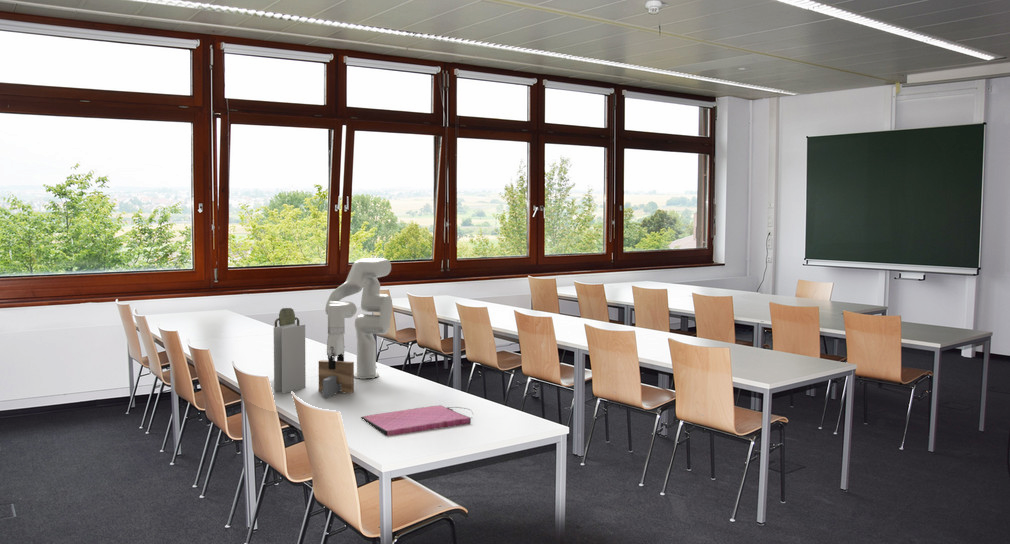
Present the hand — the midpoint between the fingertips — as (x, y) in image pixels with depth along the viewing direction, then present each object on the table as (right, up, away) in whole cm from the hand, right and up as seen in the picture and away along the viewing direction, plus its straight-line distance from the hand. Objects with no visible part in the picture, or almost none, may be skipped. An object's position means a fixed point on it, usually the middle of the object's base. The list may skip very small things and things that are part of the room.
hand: (336, 367), depth 347 cm
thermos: (-30, -9, +26) cm, 41 cm away
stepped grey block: (0, -11, +1) cm, 11 cm away
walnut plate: (0, -11, +1) cm, 11 cm away
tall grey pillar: (-22, -11, +3) cm, 25 cm away
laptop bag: (+44, -17, -45) cm, 65 cm away
